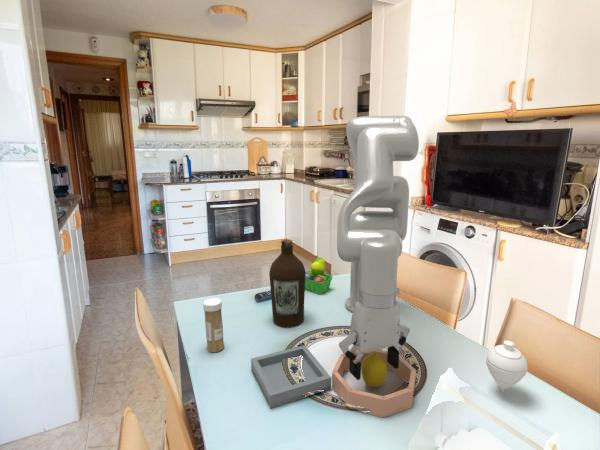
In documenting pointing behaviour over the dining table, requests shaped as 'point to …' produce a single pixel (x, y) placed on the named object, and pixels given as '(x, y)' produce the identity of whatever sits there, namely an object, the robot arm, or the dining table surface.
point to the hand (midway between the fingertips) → (374, 370)
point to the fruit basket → (317, 277)
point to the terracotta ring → (374, 402)
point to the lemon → (374, 370)
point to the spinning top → (506, 365)
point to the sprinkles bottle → (213, 324)
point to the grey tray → (278, 384)
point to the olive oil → (287, 287)
